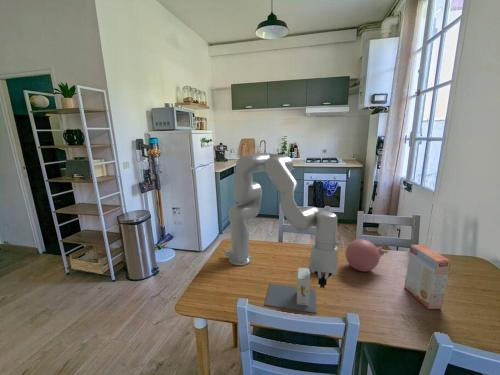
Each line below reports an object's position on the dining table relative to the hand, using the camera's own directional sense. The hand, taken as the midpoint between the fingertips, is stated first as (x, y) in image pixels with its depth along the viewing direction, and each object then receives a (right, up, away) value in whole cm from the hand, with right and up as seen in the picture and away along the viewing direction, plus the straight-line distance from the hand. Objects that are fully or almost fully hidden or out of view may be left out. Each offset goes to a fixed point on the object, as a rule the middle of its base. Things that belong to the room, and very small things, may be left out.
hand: (322, 285), depth 96 cm
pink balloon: (+29, -2, +25) cm, 39 cm away
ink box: (-7, -7, +3) cm, 10 cm away
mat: (-12, -7, +4) cm, 14 cm away
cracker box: (+43, -7, +4) cm, 43 cm away
